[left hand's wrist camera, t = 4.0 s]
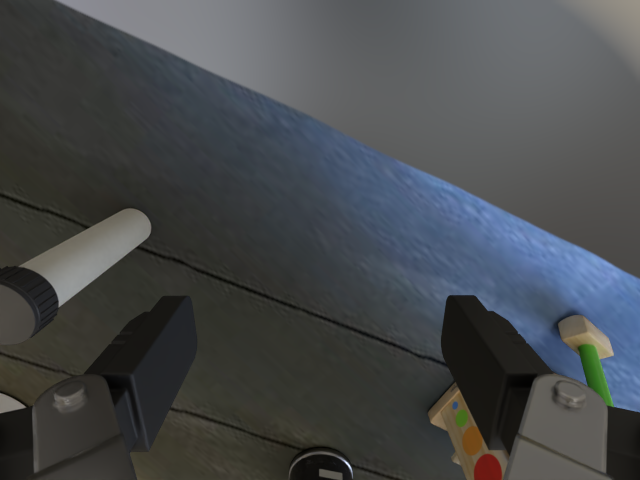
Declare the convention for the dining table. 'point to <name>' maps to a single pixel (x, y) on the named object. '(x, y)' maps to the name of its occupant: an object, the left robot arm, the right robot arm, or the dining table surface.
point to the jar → (90, 252)
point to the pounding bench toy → (467, 440)
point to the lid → (24, 304)
